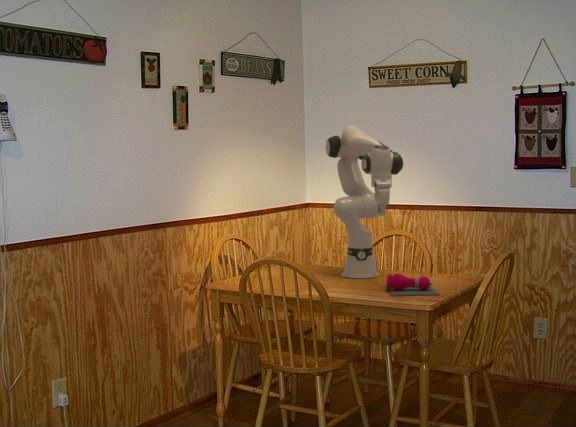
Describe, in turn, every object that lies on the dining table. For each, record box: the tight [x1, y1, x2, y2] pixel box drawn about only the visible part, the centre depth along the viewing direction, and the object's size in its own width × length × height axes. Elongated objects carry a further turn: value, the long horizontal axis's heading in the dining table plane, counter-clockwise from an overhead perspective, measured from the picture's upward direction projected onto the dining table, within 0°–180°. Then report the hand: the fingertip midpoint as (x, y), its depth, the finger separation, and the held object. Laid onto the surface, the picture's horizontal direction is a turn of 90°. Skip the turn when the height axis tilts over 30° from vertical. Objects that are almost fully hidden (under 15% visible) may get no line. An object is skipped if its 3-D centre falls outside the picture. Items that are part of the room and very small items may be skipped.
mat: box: [384, 284, 440, 297], centre depth 343 cm, size 22×20×1 cm
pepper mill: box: [386, 273, 434, 290], centre depth 341 cm, size 7×7×20 cm
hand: (381, 214), depth 346 cm, fingers open, 8 cm apart
